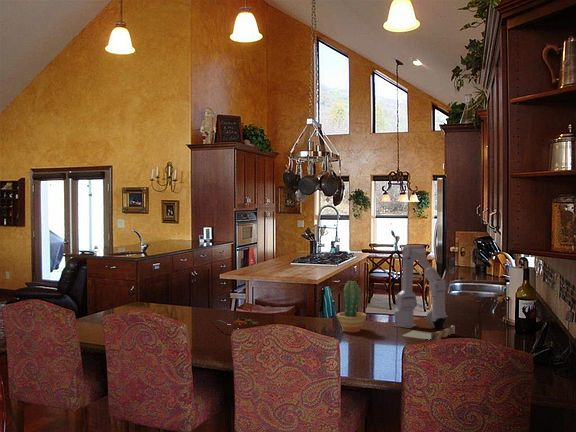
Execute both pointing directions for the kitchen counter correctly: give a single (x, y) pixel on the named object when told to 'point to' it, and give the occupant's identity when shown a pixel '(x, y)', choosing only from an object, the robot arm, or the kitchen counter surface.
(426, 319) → the donut
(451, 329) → the gate
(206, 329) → the kitchen counter surface
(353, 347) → the kitchen counter surface
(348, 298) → the potted cactus
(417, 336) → the mat
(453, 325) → the gate post
